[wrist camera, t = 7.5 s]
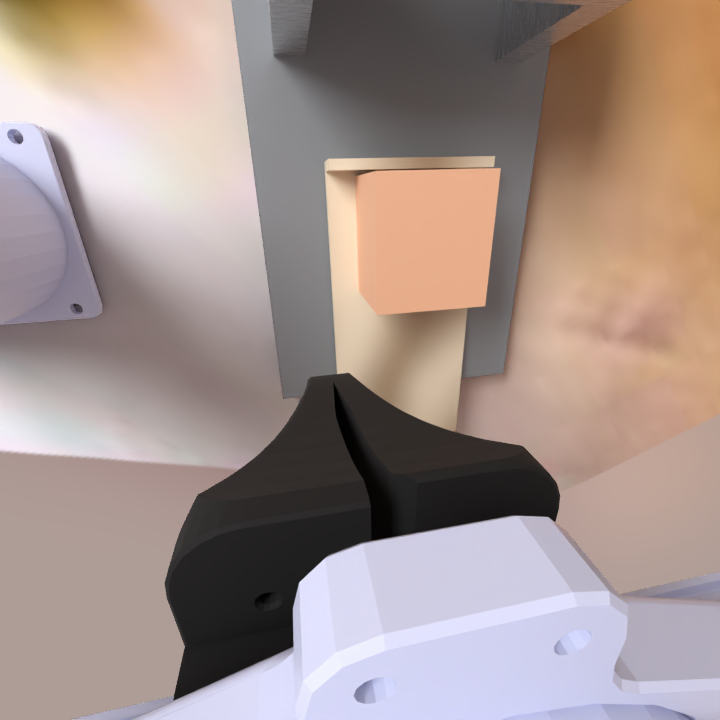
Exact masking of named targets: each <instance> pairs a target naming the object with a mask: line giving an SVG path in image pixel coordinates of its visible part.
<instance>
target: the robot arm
mask: <svg viewBox="0 0 720 720" xmlns="http://www.w3.org/2000/svg"><path fill="white" fill-rule="evenodd" d="M16 131H19V132H20V133H21V134H22V136H23V142H22V144H19V143H17V142H16V140H15V139H14V133H15V132H16ZM74 304H79V305H80V306H81V307H82V310H83V311H82V312H79V311H77V310H76V309H75V308H74ZM102 310H103V305H102V302H101V299H100V296H99V293H98V290H97V286H96V283H95V280H94V277H93V274H92V271H91V268H90V265H89V262H88V259H87V255H86V252H85V249H84V246H83V243H82V240H81V237H80V234H79V231H78V227H77V224H76V221H75V218H74V215H73V212H72V209H71V206H70V203H69V199H68V196H67V193H66V190H65V187H64V184H63V181H62V178H61V175H60V171H59V168H58V165H57V162H56V159H55V156H54V153H53V150H52V147H51V143H50V140H49V137H48V136H47V134H46V132H45V131H44V130H43V129H42V128H41V127H39V126H38V125H36V124H32V123H28V122H0V325H5V324H18V323H31V322H45V321H58V320H71V319H85V318H93V317H96V316H98V315H99V314H101V313H102ZM559 500H560V494H559V490H558V486H557V483H556V482H555V480H554V479H553V478H552V477H551V475H550V474H549V473H548V472H547V471H546V470H545V469H544V468H543V466H542V465H541V464H540V463H539V462H538V461H537V460H536V459H535V458H534V457H533V456H532V455H531V454H530V453H529V452H528V451H527V450H526V449H525V448H524V447H523V446H520V445H514V444H508V443H502V442H496V441H490V440H484V439H480V438H476V437H472V436H468V435H464V434H460V433H456V432H453V431H450V430H447V429H444V428H441V427H438V426H435V425H433V424H430V423H427V422H425V421H423V420H420V419H418V418H416V417H414V416H412V415H410V414H408V413H406V412H404V411H402V410H400V409H398V408H397V407H395V406H393V405H392V404H390V403H388V402H387V401H385V400H384V399H382V398H381V397H379V396H378V395H376V394H375V393H374V392H372V391H371V390H370V389H368V388H367V387H366V386H364V385H363V384H362V383H361V382H360V381H358V380H357V379H356V378H355V377H353V376H352V375H351V374H350V373H343V374H333V375H324V376H315V377H310V378H309V379H308V380H307V386H306V389H305V392H304V394H303V396H302V398H301V400H300V402H299V404H298V406H297V408H296V410H295V411H294V413H293V415H292V416H291V418H290V419H289V421H288V422H287V424H286V425H285V427H284V428H283V429H282V431H281V432H280V433H279V434H278V435H277V437H276V438H275V439H274V440H273V441H272V442H271V443H270V444H269V445H268V446H267V447H266V448H265V449H264V450H263V451H262V452H261V453H260V454H259V455H258V456H256V457H255V458H254V459H253V460H251V461H250V462H249V463H248V464H246V465H245V466H244V467H242V468H241V469H239V470H238V471H237V472H235V473H234V474H232V475H231V476H229V477H228V478H226V479H224V480H223V481H221V482H219V483H218V484H216V485H214V486H213V487H211V488H209V489H208V490H206V491H204V492H202V493H200V494H198V496H197V497H196V499H195V501H194V503H193V505H192V508H191V509H190V512H189V514H188V516H187V518H186V520H185V522H184V524H183V526H182V528H181V531H180V533H179V537H178V539H177V542H176V545H175V549H174V552H173V555H172V559H171V562H170V566H169V569H168V573H167V577H166V581H165V588H166V595H167V600H168V602H169V605H170V608H171V610H172V613H173V616H174V618H175V621H176V624H177V626H178V629H179V632H180V634H181V637H182V640H183V642H184V645H185V649H184V653H183V658H182V662H181V667H180V671H179V676H178V681H177V685H176V690H175V694H174V696H171V697H166V698H162V699H158V700H153V701H149V702H144V703H140V704H135V705H131V706H127V707H123V708H118V709H114V710H109V711H105V712H100V713H96V714H92V715H87V716H83V717H78V718H74V719H70V720H720V572H715V573H711V574H706V575H702V576H698V577H693V578H689V579H685V580H680V581H676V582H672V583H667V584H663V585H658V586H654V587H649V588H645V589H641V590H636V591H632V592H628V593H623V594H618V592H617V591H616V590H615V589H614V587H613V586H612V585H611V584H610V583H609V581H608V580H607V579H606V578H605V577H604V575H603V574H602V573H601V572H600V571H599V570H598V568H597V567H596V566H595V565H594V564H593V562H592V561H591V560H590V559H589V558H588V557H587V555H586V554H585V553H584V552H583V551H582V549H581V548H580V547H579V546H578V545H577V543H576V542H575V541H574V540H573V539H572V537H571V536H570V535H569V534H568V533H567V532H566V531H565V530H564V529H563V528H562V527H560V526H559V525H558V524H557V523H555V521H556V517H557V513H558V509H559Z"/></svg>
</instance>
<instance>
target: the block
mask: <svg viewBox="0 0 720 720" xmlns="http://www.w3.org/2000/svg"><path fill="white" fill-rule="evenodd" d="M500 171H501V168H484V169H437V170H390V171H373V172H370V173H366V174H363V175H359V176H355V184H356V218H357V251H358V284H359V292H360V294H361V295H362V296H363V298H364V299H365V300H366V301H367V303H368V304H369V305H370V307H371V308H372V309H373V310H374V312H375V313H376V314H377V315H387V314H399V313H411V312H423V311H435V310H447V309H459V308H471V307H483V306H485V303H486V294H487V286H488V277H489V268H490V259H491V250H492V241H493V233H494V224H495V215H496V206H497V197H498V189H499V180H500Z"/></svg>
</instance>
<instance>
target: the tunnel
mask: <svg viewBox="0 0 720 720" xmlns="http://www.w3.org/2000/svg"><path fill="white" fill-rule="evenodd" d="M500 1H501V3H500V13H499V23H498V34H497V44H496V54H495V62H512V63H521V62H523V61H525V60H526V59H528V58H530V57H532V56H533V55H535V54H537V53H539V52H541V51H542V50H544V49H546V48H548V47H549V46H551V45H553V44H555V43H556V42H558V41H560V40H562V39H564V38H565V37H567V36H569V35H571V34H572V33H574V32H576V31H578V30H579V29H581V28H583V27H585V26H587V25H588V24H590V23H592V22H594V21H595V20H597V19H599V18H601V17H602V16H604V15H606V14H608V13H610V12H611V11H613V10H615V9H617V8H618V7H620V6H622V5H624V4H625V3H627V2H629V1H631V0H500ZM312 4H313V0H268V6H269V16H270V26H271V36H272V46H273V56H290V57H305V52H306V45H307V38H308V31H309V25H310V18H311V11H312Z"/></svg>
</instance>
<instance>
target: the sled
mask: <svg viewBox="0 0 720 720" xmlns="http://www.w3.org/2000/svg"><path fill="white" fill-rule="evenodd" d="M494 162H495V156H469V157H405V158H342V159H327V160H326V161H325V162H324V168H325V184H326V201H327V218H328V234H329V251H330V268H331V284H332V301H333V318H334V334H335V351H336V368H337V374H343V373H350V374H351V375H352V376H353V377H355V378H356V379H357V380H358V381H360V382H361V383H362V384H363V385H364V386H366V387H367V388H368V389H370V390H371V391H372V392H374V393H375V394H376V395H378V396H379V397H381V398H382V399H384V400H385V401H387V402H388V403H390V404H392V405H393V406H395V407H397V408H398V409H400V410H402V411H404V412H406V413H408V414H410V415H412V416H414V417H416V418H418V419H420V420H423V421H425V422H427V423H430V424H433V425H435V426H438V427H441V428H444V429H447V430H450V431H453V432H456V425H457V414H458V404H459V393H460V382H461V371H462V361H463V350H464V339H465V329H466V318H467V308H459V309H447V310H435V311H423V312H411V313H399V314H387V315H377V314H376V313H375V312H374V310H373V309H372V308H371V307H370V305H369V304H368V303H367V301H366V300H365V299H364V298H363V296H362V295H361V294H360V292H359V284H358V251H357V218H356V184H355V176H359V175H363V174H366V173H370V172H373V171H390V170H437V169H482V168H489V167H494ZM456 433H457V432H456Z"/></svg>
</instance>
